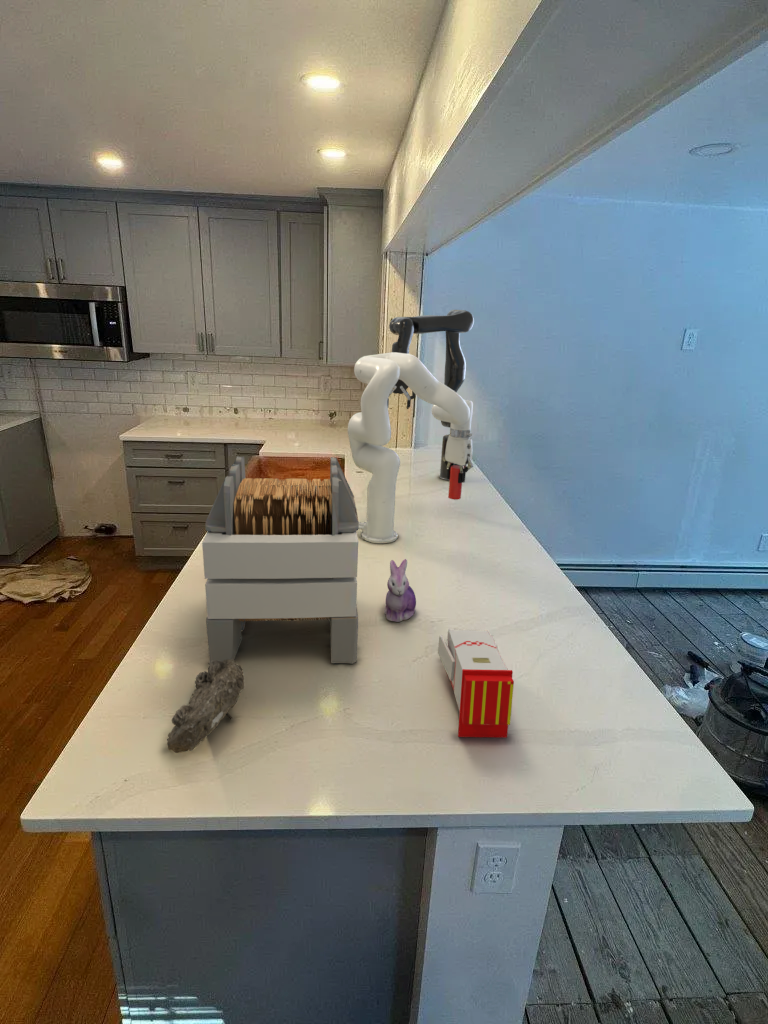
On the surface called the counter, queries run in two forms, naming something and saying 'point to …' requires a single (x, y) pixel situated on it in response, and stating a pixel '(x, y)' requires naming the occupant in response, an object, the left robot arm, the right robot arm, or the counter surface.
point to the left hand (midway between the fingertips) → (455, 480)
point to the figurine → (399, 594)
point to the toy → (478, 682)
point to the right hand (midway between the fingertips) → (397, 408)
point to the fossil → (206, 705)
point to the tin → (454, 483)
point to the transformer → (281, 558)
